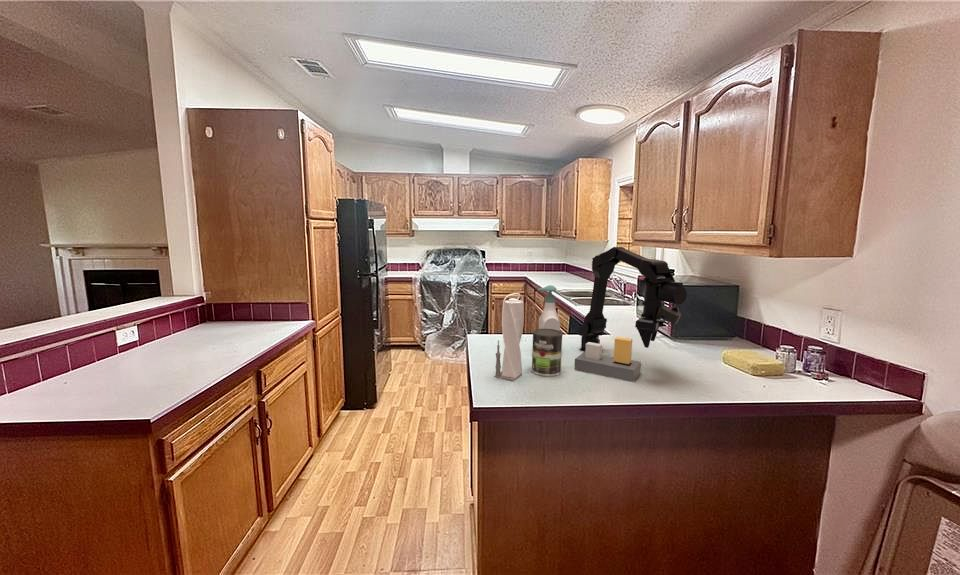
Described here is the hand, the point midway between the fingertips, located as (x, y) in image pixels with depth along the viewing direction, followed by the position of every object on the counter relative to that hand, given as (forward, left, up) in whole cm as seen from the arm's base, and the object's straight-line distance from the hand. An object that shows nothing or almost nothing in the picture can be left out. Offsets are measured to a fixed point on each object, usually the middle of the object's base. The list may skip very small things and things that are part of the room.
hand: (649, 344), depth 133 cm
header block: (-12, -4, -11) cm, 17 cm away
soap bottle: (-39, +3, -11) cm, 41 cm away
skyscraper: (-38, -27, -11) cm, 48 cm away
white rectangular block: (-17, -4, -11) cm, 21 cm away
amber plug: (-7, -4, -7) cm, 11 cm away
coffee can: (-30, -16, -11) cm, 36 cm away
